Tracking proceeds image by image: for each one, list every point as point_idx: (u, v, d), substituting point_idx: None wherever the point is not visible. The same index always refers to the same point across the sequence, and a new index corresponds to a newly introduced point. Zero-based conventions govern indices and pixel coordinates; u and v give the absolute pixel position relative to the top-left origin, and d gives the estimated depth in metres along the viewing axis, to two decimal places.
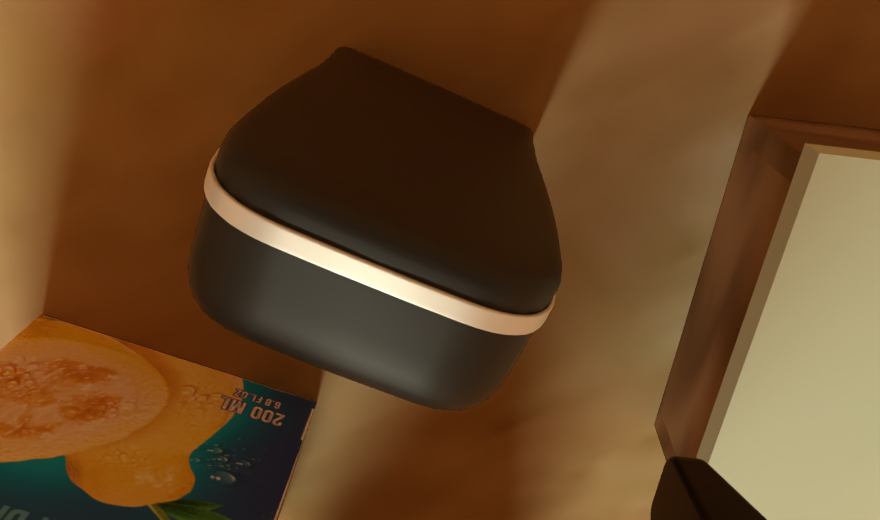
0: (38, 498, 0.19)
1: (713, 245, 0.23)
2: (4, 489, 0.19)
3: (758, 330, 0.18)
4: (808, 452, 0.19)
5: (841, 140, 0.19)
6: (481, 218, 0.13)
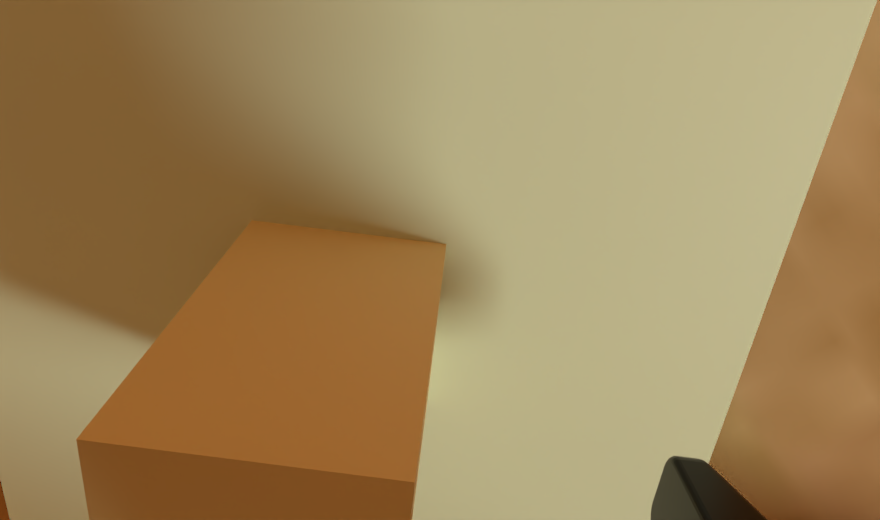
0: None
1: None
2: None
3: None
4: (433, 507, 0.13)
5: None
6: None
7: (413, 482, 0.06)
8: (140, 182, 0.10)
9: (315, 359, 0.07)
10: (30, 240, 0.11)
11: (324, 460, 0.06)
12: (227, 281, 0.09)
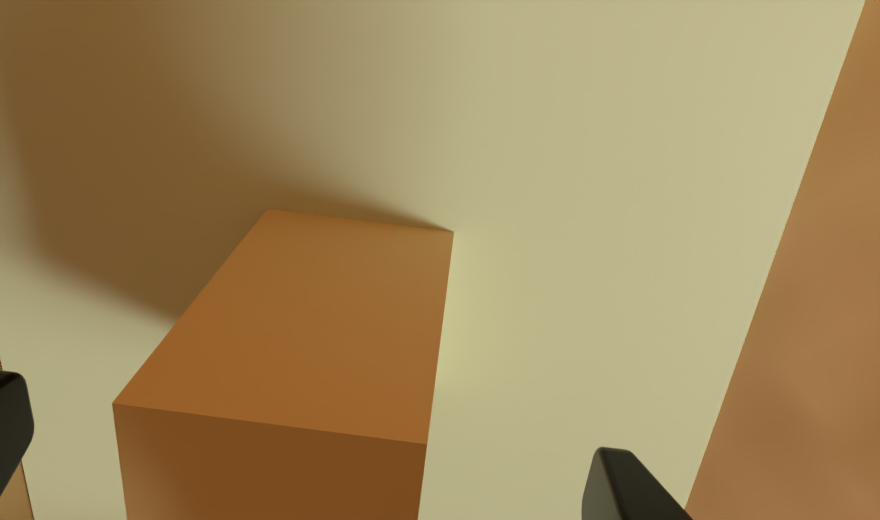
0: None
1: None
2: None
3: None
4: (440, 489, 0.13)
5: None
6: None
7: (425, 444, 0.06)
8: (161, 172, 0.11)
9: (331, 335, 0.08)
10: (55, 228, 0.11)
11: (342, 424, 0.07)
12: (246, 263, 0.09)
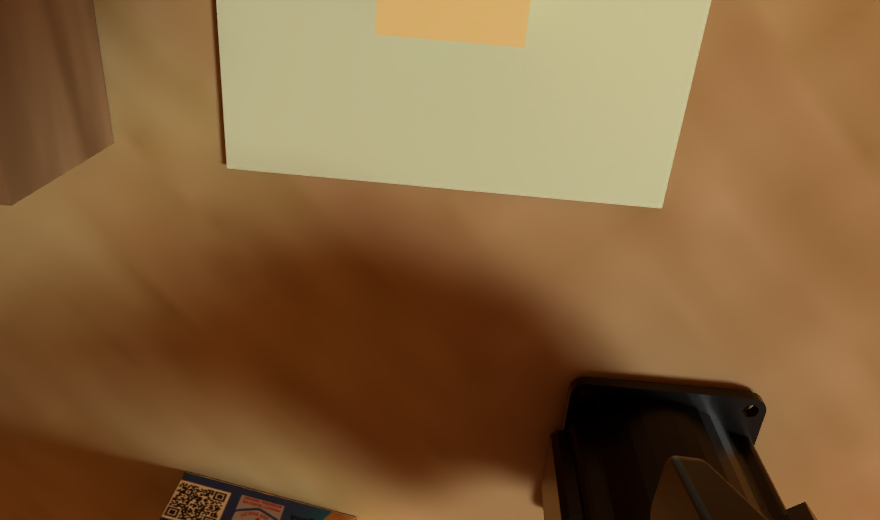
0: None
1: None
2: None
3: (383, 181, 0.20)
4: (516, 108, 0.19)
5: None
6: None
7: None
8: None
9: None
10: None
11: None
12: None
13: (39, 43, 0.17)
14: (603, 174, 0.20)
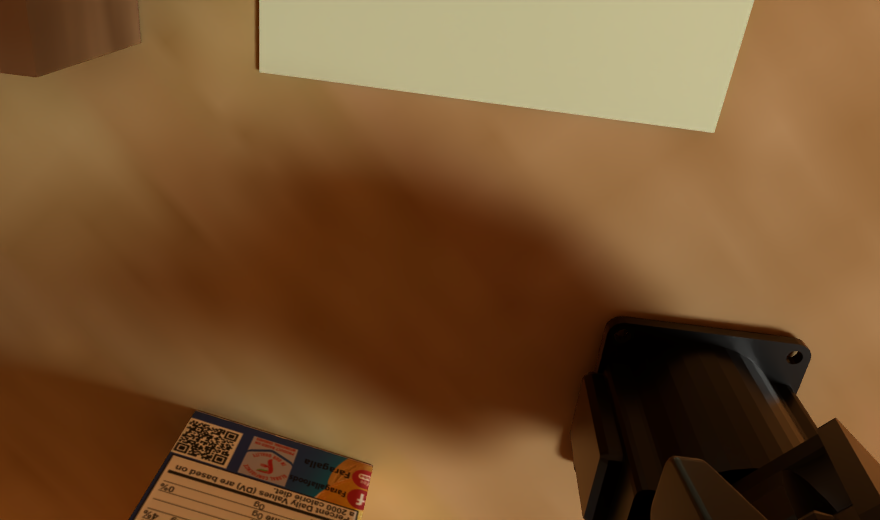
0: None
1: None
2: None
3: (423, 92, 0.20)
4: (569, 16, 0.18)
5: None
6: None
7: None
8: None
9: None
10: None
11: None
12: None
13: None
14: (655, 92, 0.19)
